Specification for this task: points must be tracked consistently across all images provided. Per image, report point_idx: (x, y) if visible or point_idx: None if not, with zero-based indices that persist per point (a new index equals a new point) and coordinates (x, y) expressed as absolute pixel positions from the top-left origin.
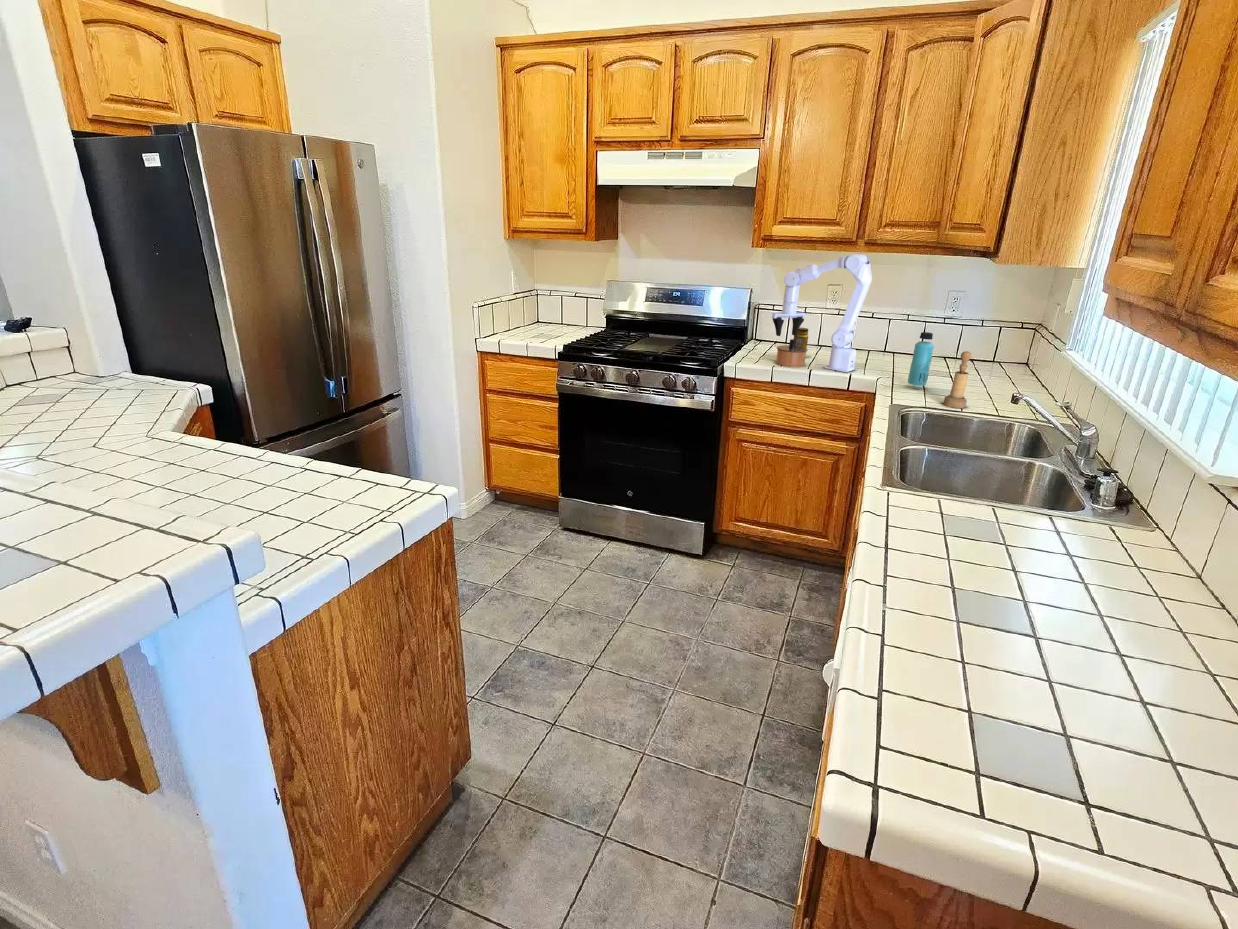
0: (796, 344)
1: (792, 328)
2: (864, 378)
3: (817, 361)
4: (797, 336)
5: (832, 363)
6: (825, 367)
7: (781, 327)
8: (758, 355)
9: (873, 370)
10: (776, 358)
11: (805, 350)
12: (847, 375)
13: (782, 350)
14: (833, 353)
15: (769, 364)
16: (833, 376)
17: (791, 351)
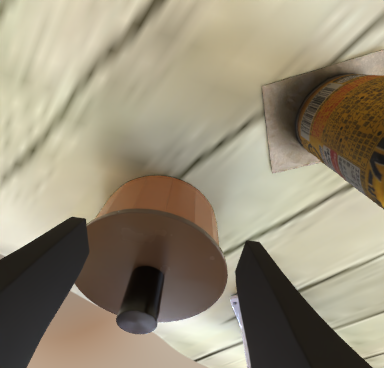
0: (330, 152)
1: (269, 284)
2: (237, 364)
3: (306, 228)
4: (372, 178)
5: (241, 327)
6: (230, 300)
7: (31, 347)
8: (108, 9)
9: (343, 339)
10: (104, 205)
11: (179, 317)
12: (223, 345)
13: (77, 280)
14: (247, 365)
15: (67, 207)
16: (179, 341)
17: (105, 307)
